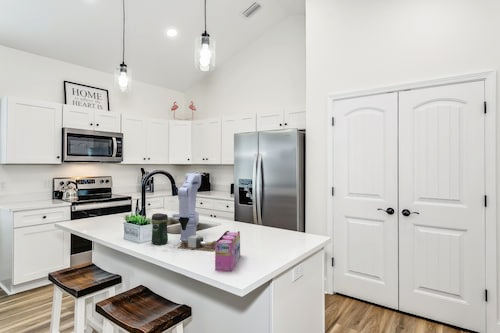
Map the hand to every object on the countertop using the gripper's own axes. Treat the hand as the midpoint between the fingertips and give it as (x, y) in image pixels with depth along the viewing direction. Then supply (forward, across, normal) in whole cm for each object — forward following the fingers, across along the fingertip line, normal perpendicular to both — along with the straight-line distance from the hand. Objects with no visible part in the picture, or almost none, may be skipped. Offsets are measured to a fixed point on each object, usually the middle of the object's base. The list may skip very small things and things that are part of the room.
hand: (183, 230), depth 172 cm
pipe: (+9, +10, 0) cm, 13 cm away
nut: (+10, +10, 0) cm, 14 cm away
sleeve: (+10, +6, 0) cm, 12 cm away
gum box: (+10, +35, -19) cm, 41 cm away
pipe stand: (+10, +10, 0) cm, 14 cm away
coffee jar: (+10, -18, +2) cm, 20 cm away
